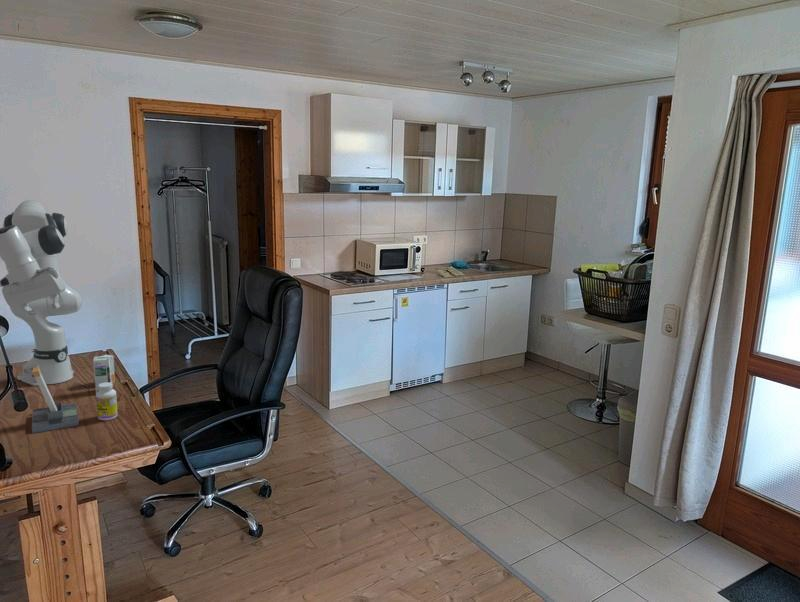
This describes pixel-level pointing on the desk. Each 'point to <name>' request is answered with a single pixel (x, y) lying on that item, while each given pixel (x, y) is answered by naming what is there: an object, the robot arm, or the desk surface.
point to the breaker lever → (44, 389)
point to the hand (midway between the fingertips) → (44, 311)
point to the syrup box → (102, 370)
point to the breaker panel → (55, 418)
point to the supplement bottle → (106, 402)
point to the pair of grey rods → (47, 407)
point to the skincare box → (112, 367)
